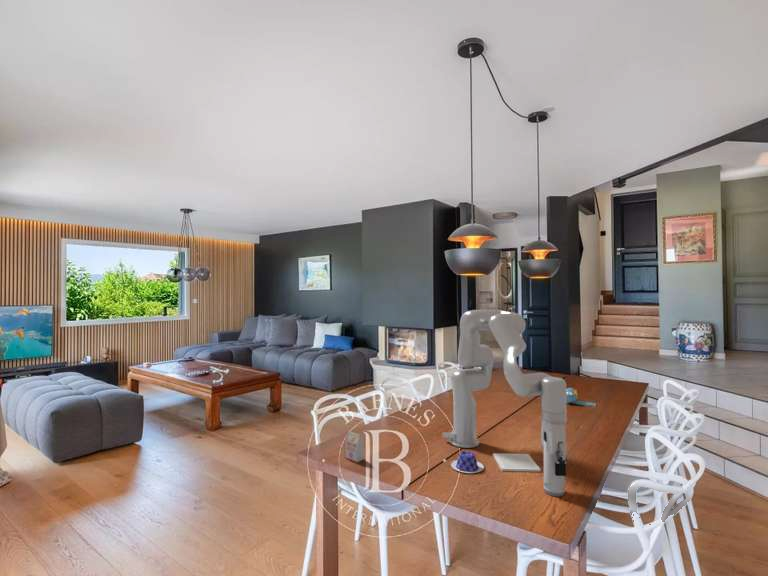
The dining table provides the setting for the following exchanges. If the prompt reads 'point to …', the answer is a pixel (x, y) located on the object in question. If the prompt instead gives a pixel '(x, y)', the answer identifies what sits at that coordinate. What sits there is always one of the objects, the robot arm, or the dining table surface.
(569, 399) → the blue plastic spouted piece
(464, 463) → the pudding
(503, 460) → the plate
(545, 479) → the travel mug
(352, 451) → the small printed carton
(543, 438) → the robot arm
